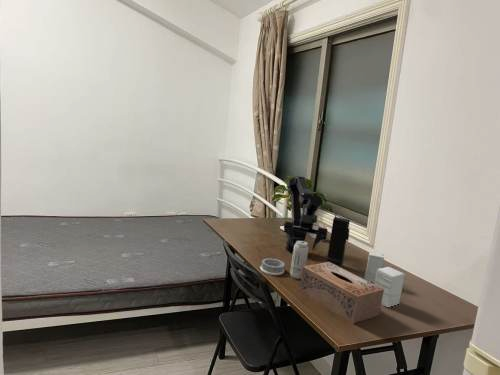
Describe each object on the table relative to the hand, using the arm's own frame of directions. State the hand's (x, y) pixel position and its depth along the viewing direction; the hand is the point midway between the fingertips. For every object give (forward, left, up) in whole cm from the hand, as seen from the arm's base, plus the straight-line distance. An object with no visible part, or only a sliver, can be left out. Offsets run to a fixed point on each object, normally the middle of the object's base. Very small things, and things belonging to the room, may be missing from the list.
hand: (302, 247), depth 154 cm
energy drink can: (+2, +3, -12) cm, 12 cm away
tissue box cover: (-4, +25, -12) cm, 29 cm away
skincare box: (-31, +9, -12) cm, 34 cm away
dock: (+11, -4, -12) cm, 16 cm away
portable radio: (-23, -8, -12) cm, 27 cm away
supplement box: (-24, +27, -12) cm, 38 cm away
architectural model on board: (-34, -47, -12) cm, 59 cm away
